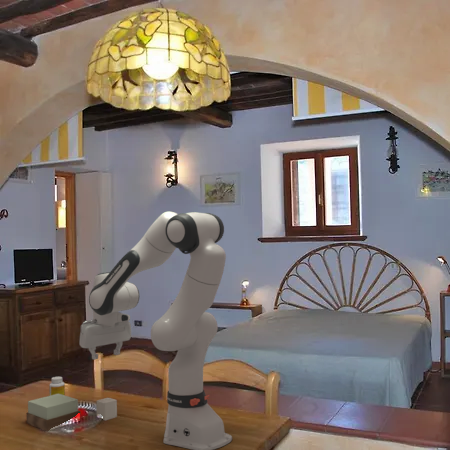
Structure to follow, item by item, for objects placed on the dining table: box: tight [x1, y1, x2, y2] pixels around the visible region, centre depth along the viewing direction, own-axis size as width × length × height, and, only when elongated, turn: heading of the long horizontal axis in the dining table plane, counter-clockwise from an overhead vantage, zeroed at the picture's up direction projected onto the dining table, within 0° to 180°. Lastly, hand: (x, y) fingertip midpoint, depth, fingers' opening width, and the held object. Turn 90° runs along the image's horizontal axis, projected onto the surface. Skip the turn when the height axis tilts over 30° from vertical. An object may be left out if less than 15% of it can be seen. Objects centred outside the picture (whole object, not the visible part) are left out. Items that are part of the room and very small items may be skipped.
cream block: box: [96, 397, 118, 421], centre depth 201 cm, size 5×5×6 cm
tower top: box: [27, 394, 79, 420], centre depth 197 cm, size 12×12×4 cm
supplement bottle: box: [48, 376, 66, 396], centre depth 217 cm, size 6×6×10 cm
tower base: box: [26, 410, 81, 432], centre depth 196 cm, size 13×13×4 cm
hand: (106, 356), depth 201 cm, fingers open, 8 cm apart
